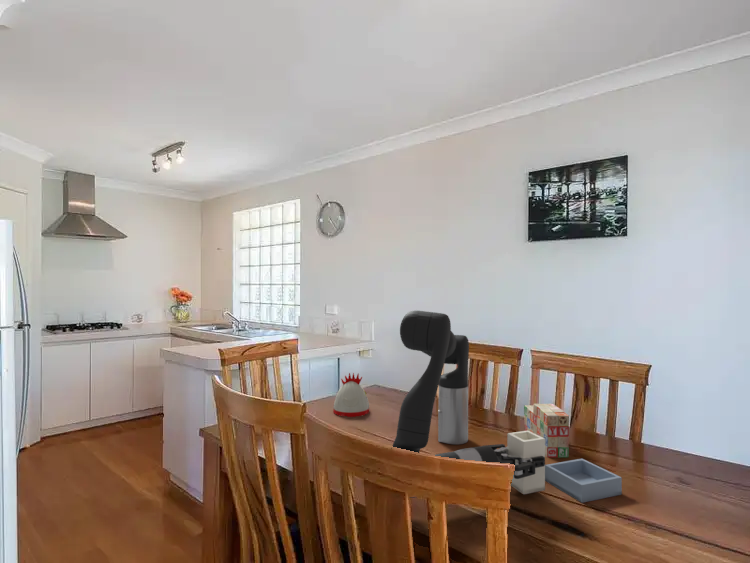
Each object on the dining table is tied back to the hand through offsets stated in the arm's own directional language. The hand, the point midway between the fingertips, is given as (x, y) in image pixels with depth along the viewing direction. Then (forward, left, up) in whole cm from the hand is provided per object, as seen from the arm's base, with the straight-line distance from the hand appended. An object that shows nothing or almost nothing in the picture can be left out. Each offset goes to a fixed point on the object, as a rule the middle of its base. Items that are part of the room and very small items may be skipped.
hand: (534, 455), depth 107 cm
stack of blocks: (+9, +34, -9) cm, 36 cm away
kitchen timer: (-58, +57, -9) cm, 82 cm away
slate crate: (+12, +5, -9) cm, 15 cm away
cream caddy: (-2, -1, -7) cm, 7 cm away
